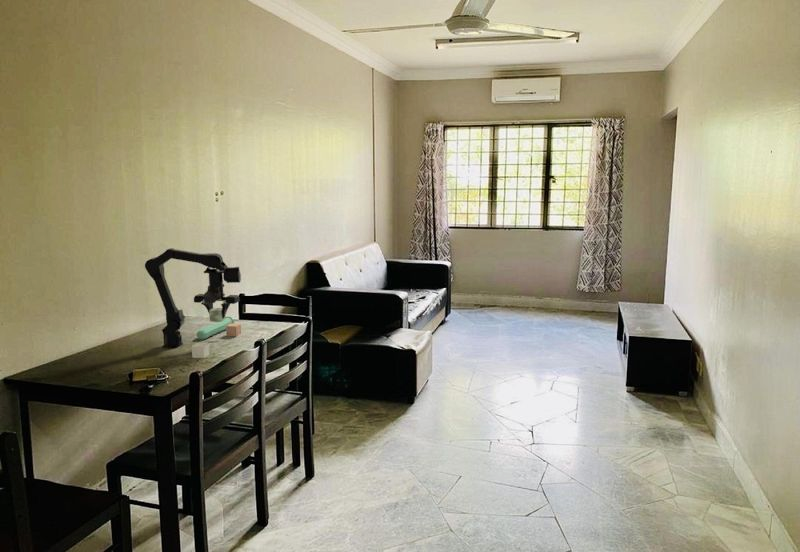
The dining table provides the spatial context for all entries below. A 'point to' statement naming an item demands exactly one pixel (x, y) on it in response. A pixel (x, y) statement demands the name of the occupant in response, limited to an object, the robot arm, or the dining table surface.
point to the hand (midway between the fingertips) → (217, 318)
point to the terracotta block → (233, 329)
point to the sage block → (216, 315)
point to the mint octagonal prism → (214, 328)
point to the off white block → (200, 350)
